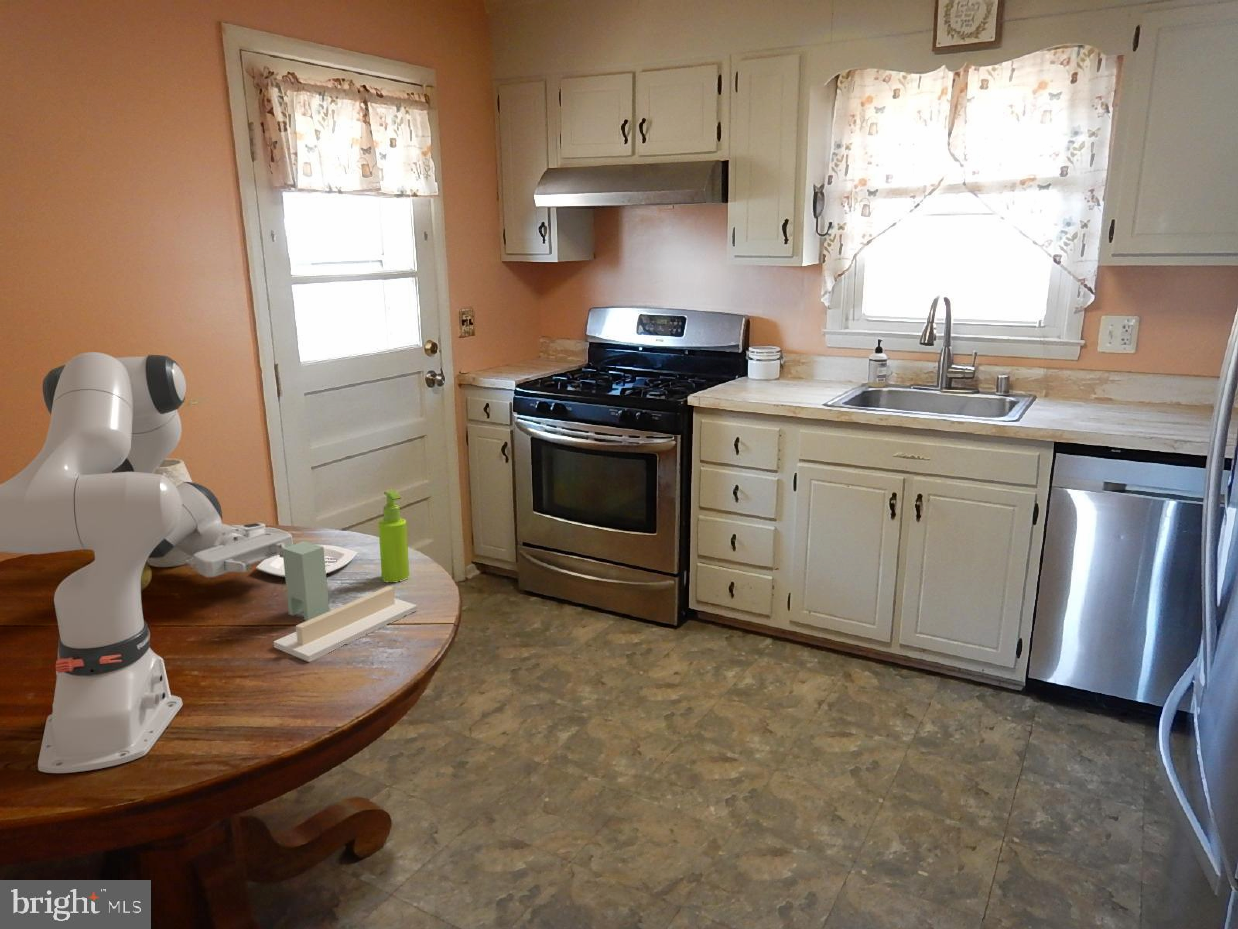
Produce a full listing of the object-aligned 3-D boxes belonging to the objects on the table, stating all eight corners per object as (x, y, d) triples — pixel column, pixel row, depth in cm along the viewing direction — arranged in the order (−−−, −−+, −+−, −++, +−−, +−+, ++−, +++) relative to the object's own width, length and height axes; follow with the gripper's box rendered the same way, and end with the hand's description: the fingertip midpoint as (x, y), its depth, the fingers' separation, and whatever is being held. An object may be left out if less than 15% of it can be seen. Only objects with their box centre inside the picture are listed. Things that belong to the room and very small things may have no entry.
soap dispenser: (389, 586, 184) (384, 498, 179) (377, 576, 190) (372, 490, 185) (415, 580, 188) (410, 493, 183) (403, 570, 193) (398, 486, 188)
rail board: (309, 662, 152) (307, 638, 150) (274, 647, 157) (271, 624, 156) (417, 610, 173) (416, 589, 171) (383, 599, 178) (381, 578, 177)
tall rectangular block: (308, 621, 167) (302, 554, 164) (288, 614, 171) (282, 548, 167) (329, 612, 171) (323, 547, 168) (309, 605, 175) (304, 541, 171)
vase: (208, 569, 193) (196, 470, 187) (122, 576, 189) (107, 475, 183) (221, 543, 209) (210, 452, 203) (142, 549, 205) (129, 456, 199)
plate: (300, 548, 207) (299, 540, 207) (369, 558, 201) (368, 550, 201) (243, 577, 190) (243, 569, 189) (317, 588, 184) (316, 580, 183)
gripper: (178, 547, 173) (219, 561, 166) (267, 520, 190) (307, 532, 182) (182, 576, 175) (222, 591, 168) (270, 547, 191) (310, 560, 184)
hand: (267, 560), depth 175 cm, fingers open, 8 cm apart
